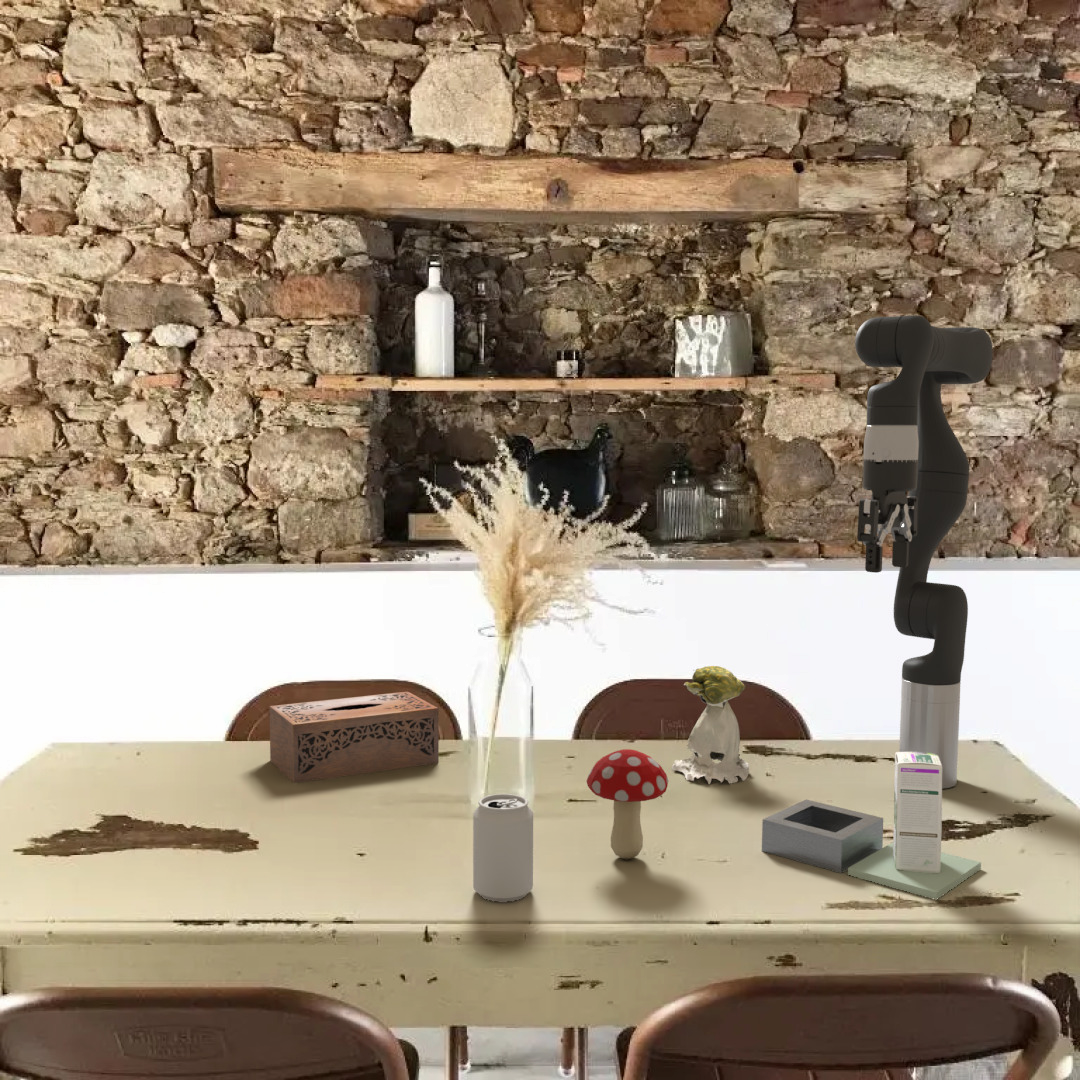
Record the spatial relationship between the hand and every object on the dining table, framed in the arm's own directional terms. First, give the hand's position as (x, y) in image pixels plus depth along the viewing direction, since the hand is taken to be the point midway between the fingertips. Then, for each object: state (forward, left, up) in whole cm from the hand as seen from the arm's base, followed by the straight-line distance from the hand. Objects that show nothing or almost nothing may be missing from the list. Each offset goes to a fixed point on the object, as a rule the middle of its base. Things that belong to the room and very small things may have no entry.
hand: (886, 569), depth 169 cm
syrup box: (+14, +12, -37) cm, 42 cm away
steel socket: (+15, -1, -38) cm, 41 cm away
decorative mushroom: (+36, -19, -38) cm, 56 cm away
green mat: (+14, +12, -38) cm, 42 cm away
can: (+56, -23, -38) cm, 72 cm away
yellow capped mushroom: (-5, -33, -38) cm, 51 cm away
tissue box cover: (+32, -83, -39) cm, 96 cm away
